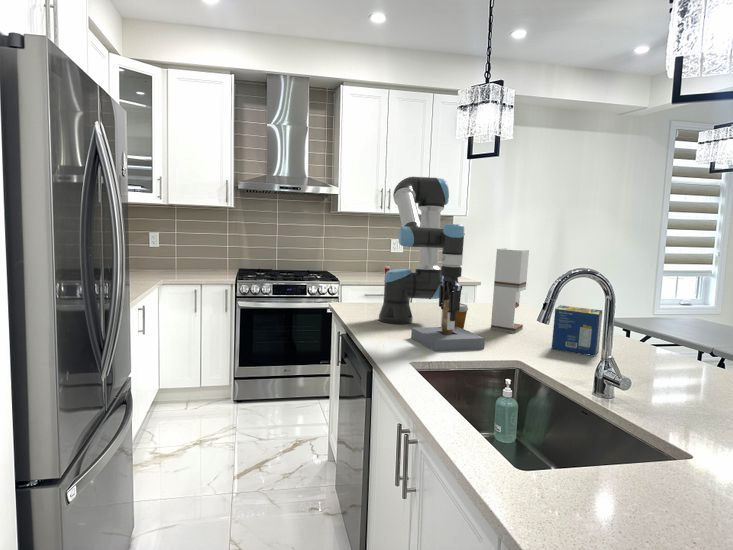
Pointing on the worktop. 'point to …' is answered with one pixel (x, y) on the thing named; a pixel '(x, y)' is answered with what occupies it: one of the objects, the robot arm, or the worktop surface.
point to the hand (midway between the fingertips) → (447, 327)
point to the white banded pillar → (508, 288)
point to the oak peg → (445, 319)
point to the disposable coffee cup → (461, 316)
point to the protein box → (576, 330)
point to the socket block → (447, 339)
